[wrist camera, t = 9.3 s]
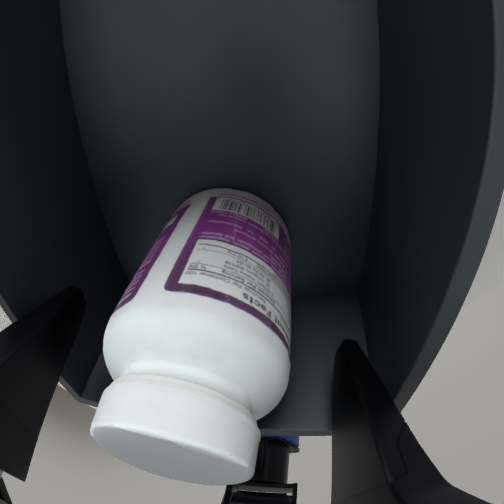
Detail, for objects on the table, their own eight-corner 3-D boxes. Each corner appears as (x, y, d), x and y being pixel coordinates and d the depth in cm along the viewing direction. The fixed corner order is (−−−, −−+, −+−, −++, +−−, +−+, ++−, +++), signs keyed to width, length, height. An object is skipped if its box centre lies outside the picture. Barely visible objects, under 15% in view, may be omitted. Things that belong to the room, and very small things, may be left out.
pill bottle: (207, 298, 16) (154, 484, 8) (149, 212, 13) (25, 402, 5) (310, 269, 14) (313, 491, 6) (261, 163, 12) (201, 411, 4)
